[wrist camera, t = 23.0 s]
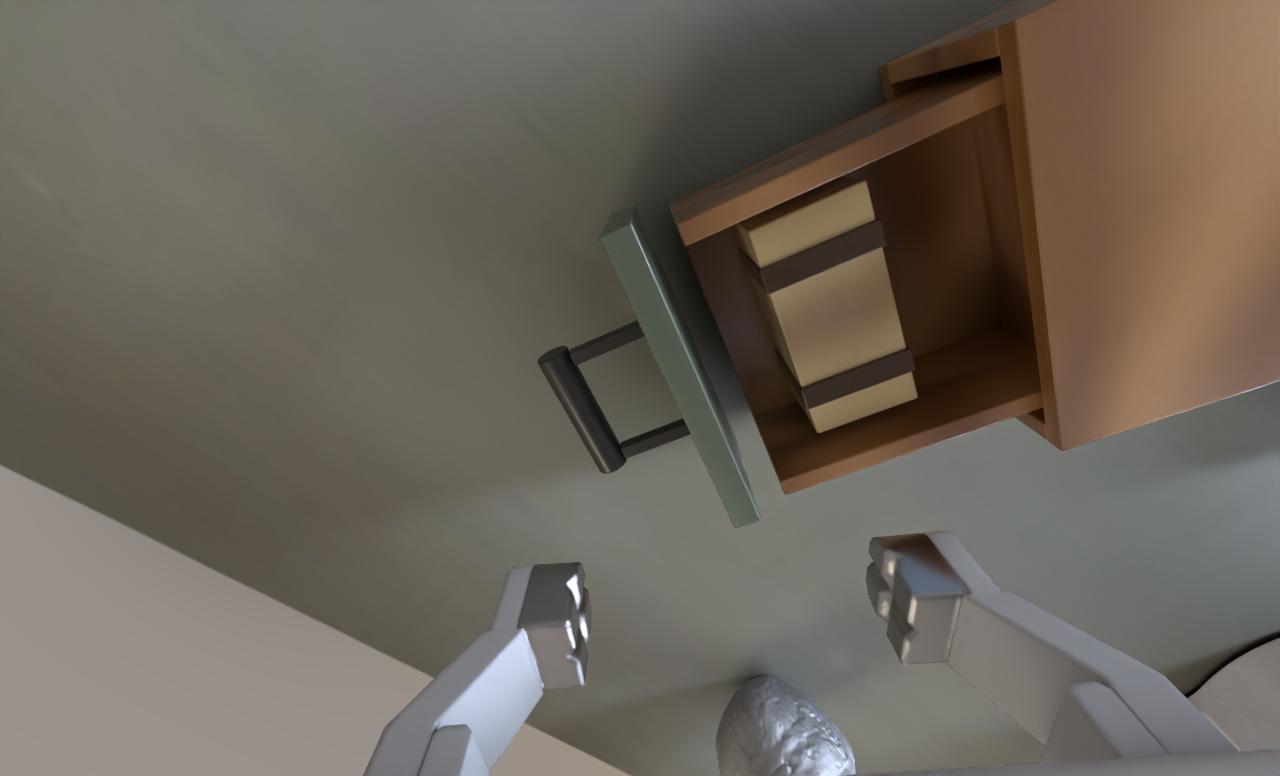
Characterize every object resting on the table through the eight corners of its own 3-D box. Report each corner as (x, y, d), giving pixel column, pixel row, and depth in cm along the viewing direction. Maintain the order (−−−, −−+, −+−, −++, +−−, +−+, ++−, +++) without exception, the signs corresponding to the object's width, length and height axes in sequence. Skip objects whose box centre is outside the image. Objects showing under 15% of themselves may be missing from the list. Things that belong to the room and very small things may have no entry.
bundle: (876, 356, 24) (924, 399, 20) (788, 390, 25) (816, 437, 21) (827, 172, 21) (872, 177, 17) (726, 217, 22) (746, 233, 18)
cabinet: (940, 363, 27) (1062, 452, 19) (877, 67, 21) (1014, 19, 13) (1302, 230, 24) (1625, 270, 16) (1342, -159, 18) (1874, -392, 10)
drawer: (634, 475, 29) (631, 564, 23) (515, 258, 24) (470, 297, 17) (1008, 338, 25) (1126, 399, 19) (965, 44, 20) (1109, -4, 14)
